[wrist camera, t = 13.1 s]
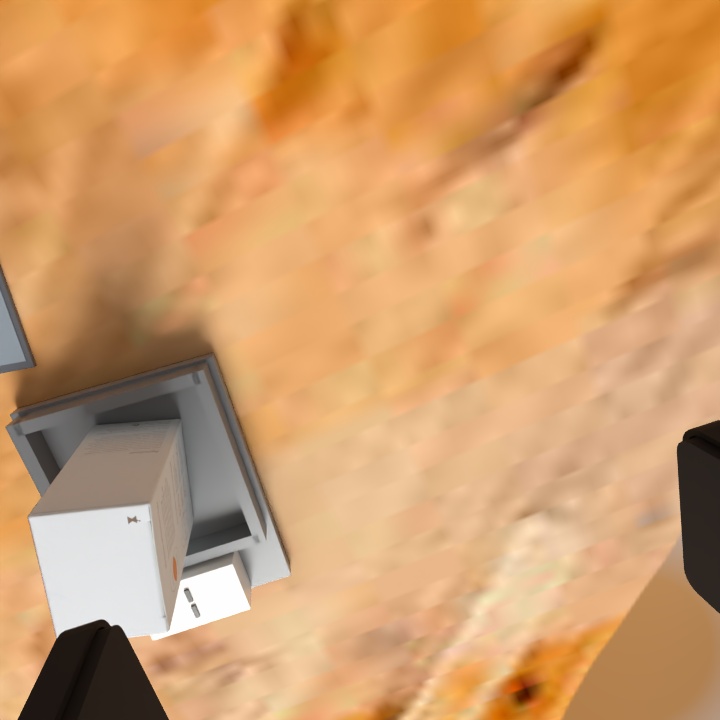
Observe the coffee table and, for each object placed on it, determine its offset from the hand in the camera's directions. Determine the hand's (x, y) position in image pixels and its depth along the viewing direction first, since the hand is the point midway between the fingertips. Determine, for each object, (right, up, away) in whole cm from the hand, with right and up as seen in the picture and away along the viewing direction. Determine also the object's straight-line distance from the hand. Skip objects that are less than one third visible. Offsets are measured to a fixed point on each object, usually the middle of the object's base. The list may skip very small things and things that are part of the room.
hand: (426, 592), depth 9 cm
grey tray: (-15, -6, +29) cm, 33 cm away
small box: (-16, -4, +28) cm, 32 cm away
